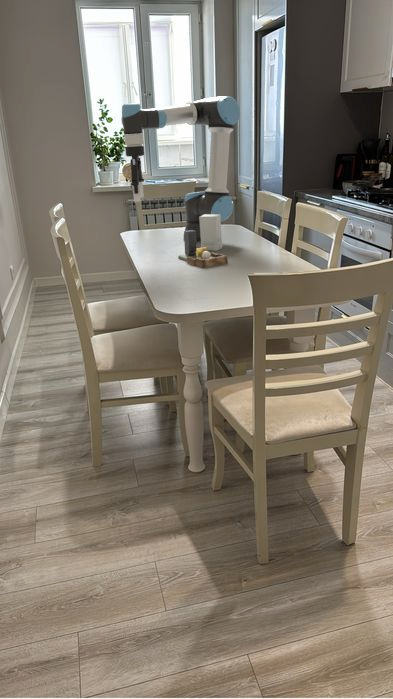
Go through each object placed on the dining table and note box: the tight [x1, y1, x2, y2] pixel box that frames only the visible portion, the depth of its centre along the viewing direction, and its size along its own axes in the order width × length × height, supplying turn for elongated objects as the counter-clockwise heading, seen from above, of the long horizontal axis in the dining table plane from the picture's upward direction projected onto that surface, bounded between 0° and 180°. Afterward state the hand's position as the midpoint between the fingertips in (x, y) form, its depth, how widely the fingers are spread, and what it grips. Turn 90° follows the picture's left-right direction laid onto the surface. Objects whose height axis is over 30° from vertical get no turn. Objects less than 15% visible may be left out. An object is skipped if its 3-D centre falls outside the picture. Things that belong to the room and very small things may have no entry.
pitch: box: [177, 252, 229, 269], centre depth 219 cm, size 13×21×3 cm, turn 33°
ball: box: [202, 250, 211, 259], centre depth 216 cm, size 4×4×4 cm
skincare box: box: [199, 214, 223, 252], centre depth 237 cm, size 8×7×16 cm
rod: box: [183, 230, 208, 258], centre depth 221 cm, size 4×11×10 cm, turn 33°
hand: (139, 199), depth 219 cm, fingers open, 13 cm apart
